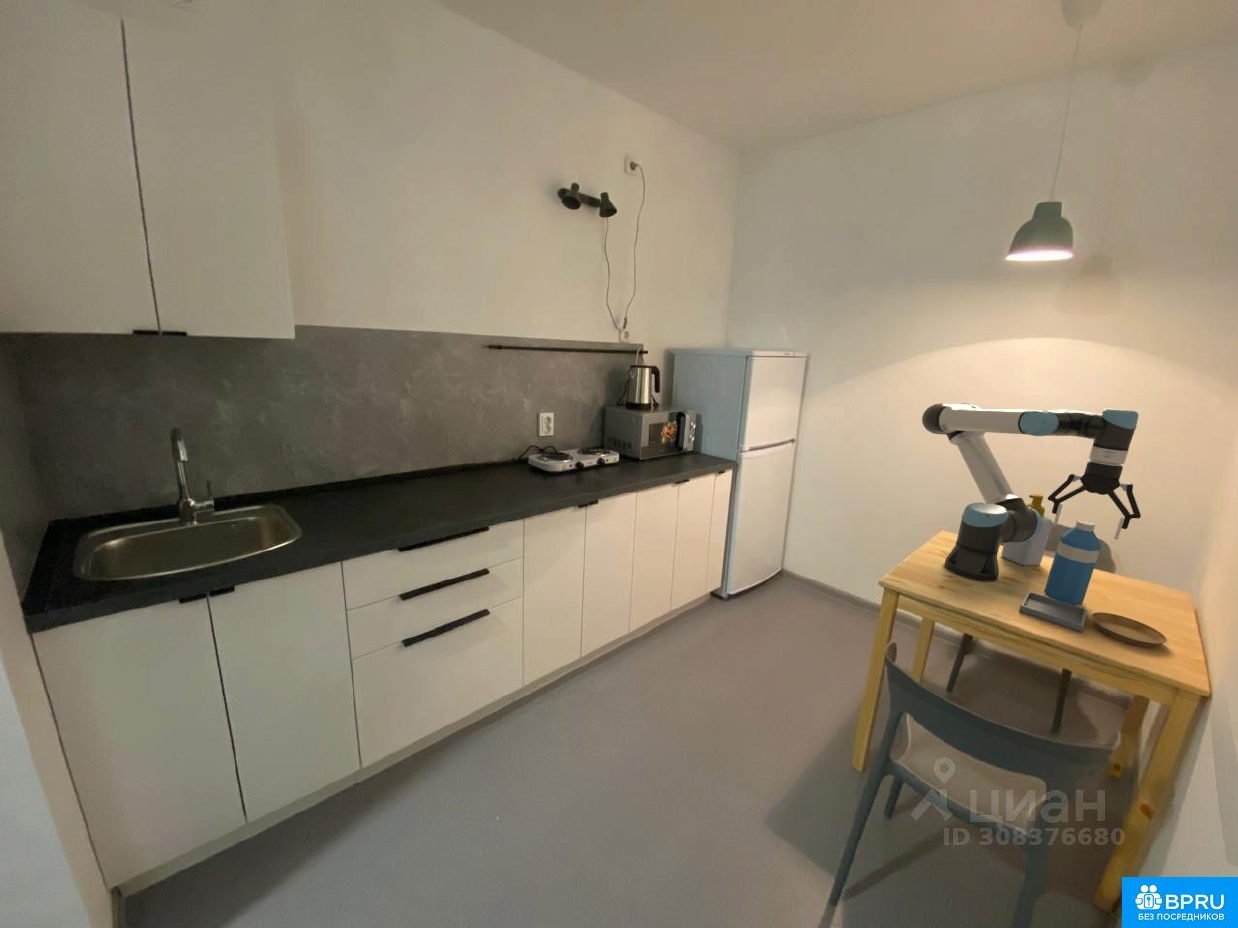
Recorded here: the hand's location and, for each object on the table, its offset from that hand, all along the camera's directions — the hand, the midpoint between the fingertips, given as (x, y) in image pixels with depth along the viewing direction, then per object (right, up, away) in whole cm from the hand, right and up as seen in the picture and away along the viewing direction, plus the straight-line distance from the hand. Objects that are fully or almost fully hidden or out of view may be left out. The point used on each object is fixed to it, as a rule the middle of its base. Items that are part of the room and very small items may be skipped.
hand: (1084, 531), depth 149 cm
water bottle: (-1, -22, +6) cm, 23 cm away
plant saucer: (-1, -27, -13) cm, 30 cm away
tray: (-14, -24, -5) cm, 28 cm away
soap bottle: (+7, -15, +33) cm, 37 cm away
